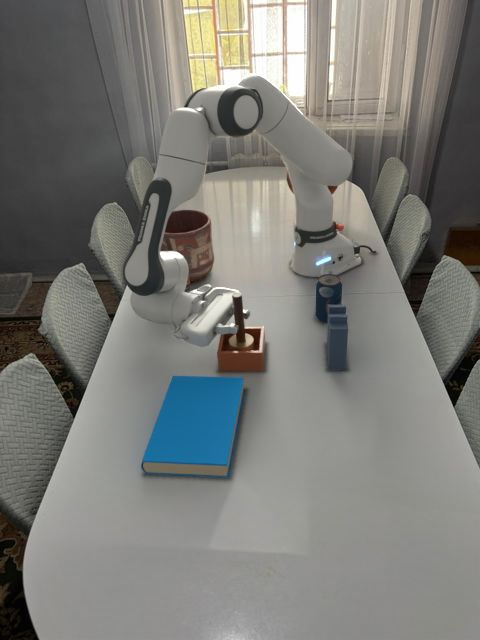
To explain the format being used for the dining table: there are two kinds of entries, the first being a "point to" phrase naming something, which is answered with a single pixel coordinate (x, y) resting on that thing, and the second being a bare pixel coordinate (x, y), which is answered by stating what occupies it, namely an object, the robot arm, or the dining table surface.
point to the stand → (337, 337)
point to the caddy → (242, 352)
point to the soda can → (327, 295)
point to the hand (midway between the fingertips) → (243, 322)
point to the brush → (240, 328)
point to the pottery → (191, 241)
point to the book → (196, 427)
